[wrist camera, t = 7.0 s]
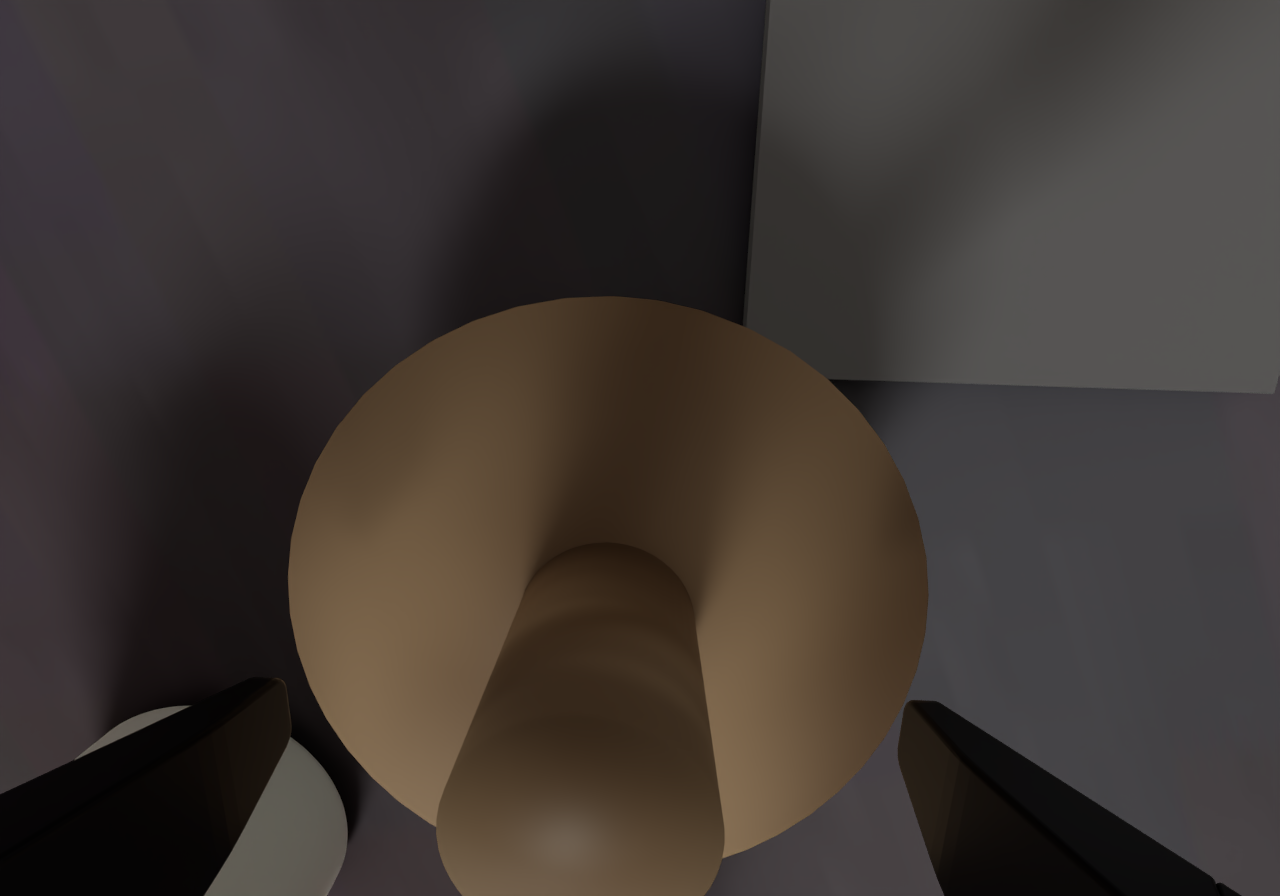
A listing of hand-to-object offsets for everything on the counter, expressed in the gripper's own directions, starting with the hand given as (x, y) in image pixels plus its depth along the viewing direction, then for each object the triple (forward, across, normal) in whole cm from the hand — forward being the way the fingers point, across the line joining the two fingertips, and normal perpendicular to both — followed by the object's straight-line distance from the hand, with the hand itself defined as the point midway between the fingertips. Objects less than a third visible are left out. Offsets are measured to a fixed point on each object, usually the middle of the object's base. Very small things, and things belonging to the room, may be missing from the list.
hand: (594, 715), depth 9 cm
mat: (+8, -10, -10) cm, 16 cm away
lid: (+3, 0, 0) cm, 3 cm away
